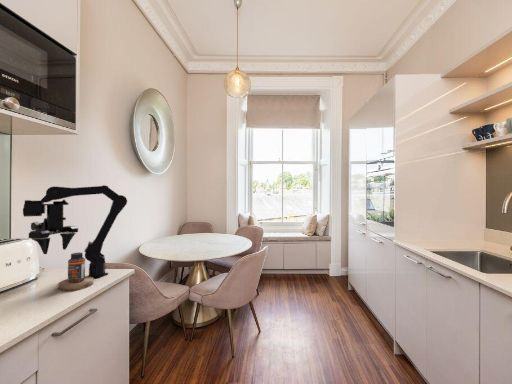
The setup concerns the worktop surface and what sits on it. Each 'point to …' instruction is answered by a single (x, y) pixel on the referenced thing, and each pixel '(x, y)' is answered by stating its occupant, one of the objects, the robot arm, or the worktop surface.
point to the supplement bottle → (76, 268)
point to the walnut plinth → (75, 284)
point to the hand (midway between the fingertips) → (55, 251)
